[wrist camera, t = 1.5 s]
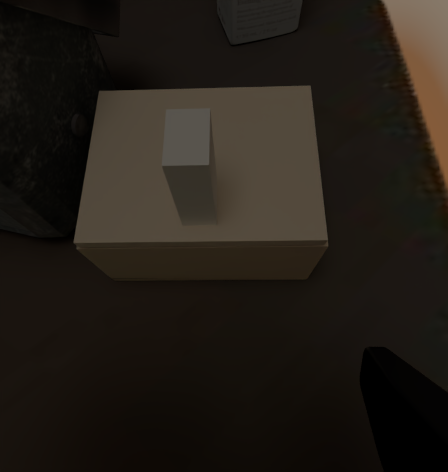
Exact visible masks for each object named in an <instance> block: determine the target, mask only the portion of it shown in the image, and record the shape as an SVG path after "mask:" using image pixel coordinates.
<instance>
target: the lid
mask: <svg viewBox="0 0 448 472" xmlns="http://www.w3.org/2000/svg"><path fill="white" fill-rule="evenodd" d="M327 241H328V237H327V228H326V219H325V210H324V202H323V193H322V184H321V175H320V166H319V157H318V148H317V140H316V131H315V122H314V113H313V104H312V95H311V86H281V87H241V88H201V89H161V90H121V91H99V95H98V101H97V107H96V113H95V118H94V124H93V130H92V136H91V142H90V148H89V154H88V160H87V166H86V172H85V178H84V184H83V190H82V196H81V202H80V207H79V213H78V219H77V225H76V231H75V237H74V244H75V245H77V246H78V247H170V246H265V245H325V244H326V242H327Z"/></svg>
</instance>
